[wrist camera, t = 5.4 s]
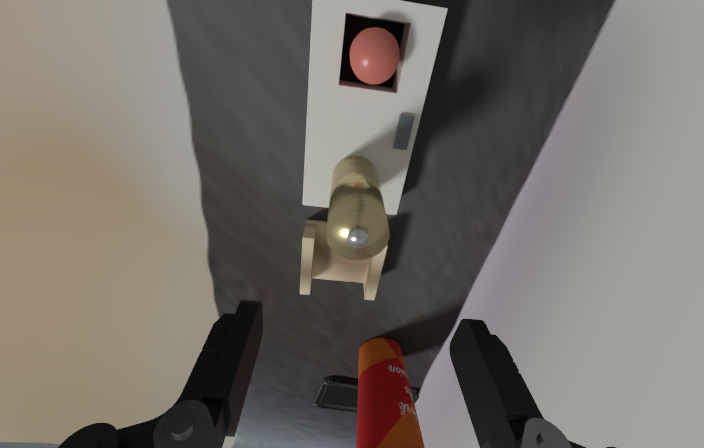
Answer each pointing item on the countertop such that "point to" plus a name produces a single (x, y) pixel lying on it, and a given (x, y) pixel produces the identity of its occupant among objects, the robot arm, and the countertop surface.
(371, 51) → the button
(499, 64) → the countertop surface
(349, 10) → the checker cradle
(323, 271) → the beige channel block
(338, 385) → the phone
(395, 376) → the paper cup
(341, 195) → the cell
